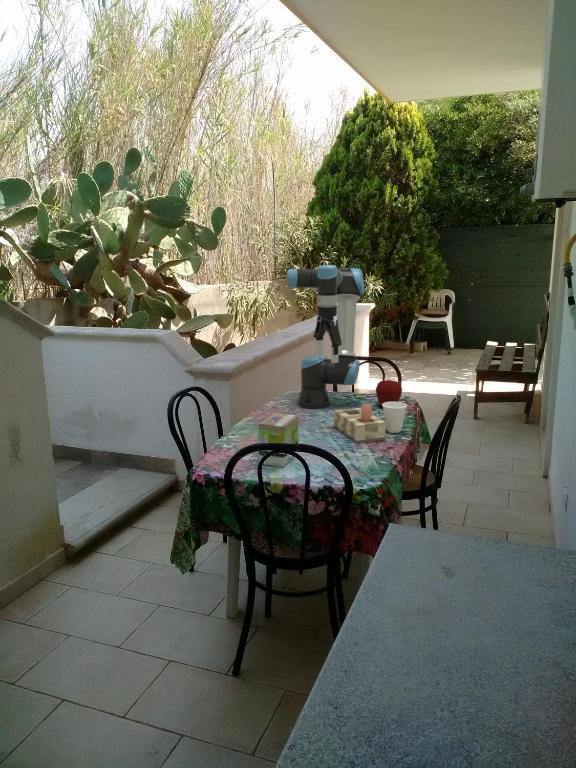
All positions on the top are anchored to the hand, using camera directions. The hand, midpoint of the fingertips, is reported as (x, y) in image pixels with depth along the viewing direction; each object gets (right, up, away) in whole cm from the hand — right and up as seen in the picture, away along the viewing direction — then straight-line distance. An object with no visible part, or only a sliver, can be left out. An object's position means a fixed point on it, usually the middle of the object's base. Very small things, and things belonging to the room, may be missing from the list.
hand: (327, 359), depth 233 cm
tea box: (-19, -37, -25) cm, 48 cm away
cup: (+27, -29, +4) cm, 40 cm away
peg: (+15, -30, -4) cm, 33 cm away
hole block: (+13, -29, +2) cm, 32 cm away
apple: (+31, -21, +39) cm, 54 cm away
